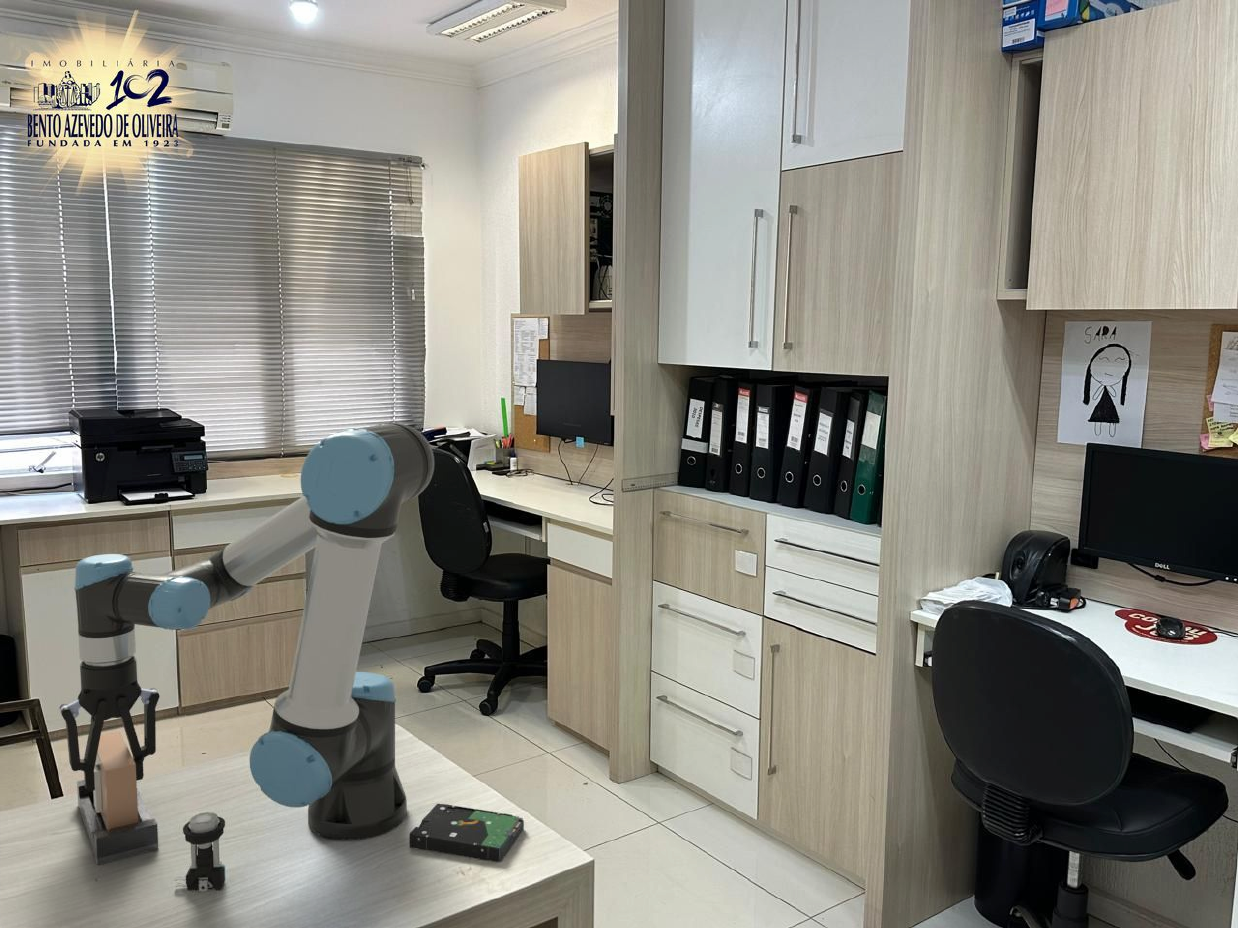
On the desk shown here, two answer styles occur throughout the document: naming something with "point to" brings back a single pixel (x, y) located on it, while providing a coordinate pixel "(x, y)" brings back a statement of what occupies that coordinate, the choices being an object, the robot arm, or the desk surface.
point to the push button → (204, 853)
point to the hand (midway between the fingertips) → (115, 803)
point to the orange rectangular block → (117, 781)
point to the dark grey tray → (116, 831)
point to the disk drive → (467, 832)
